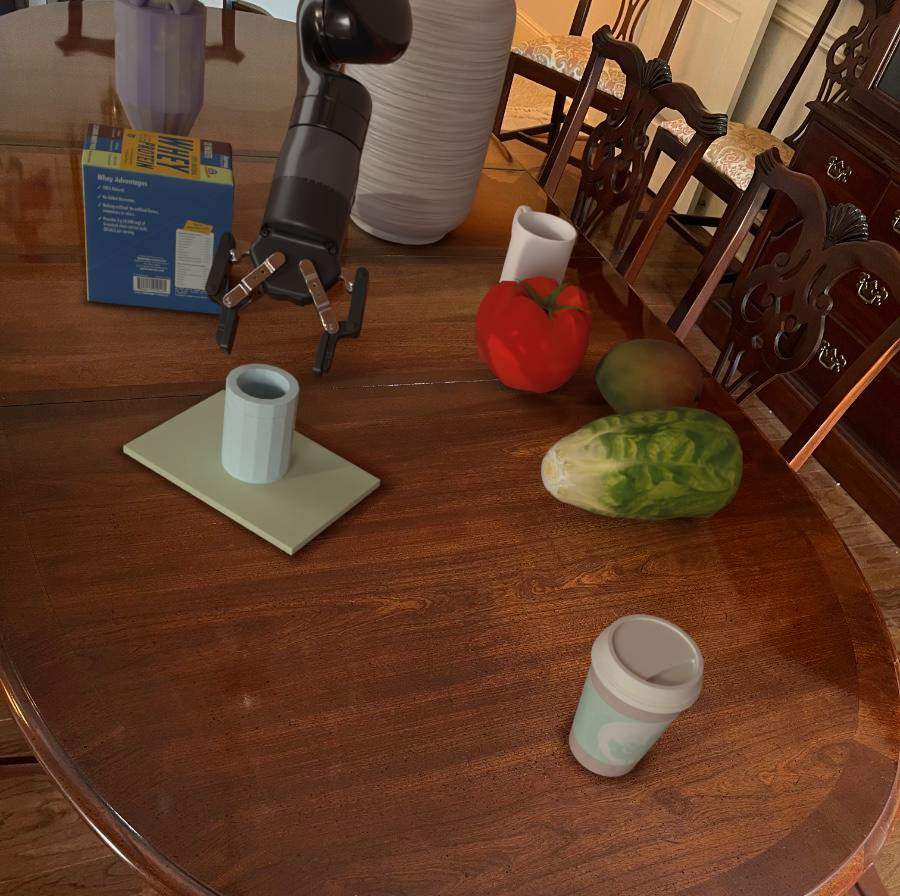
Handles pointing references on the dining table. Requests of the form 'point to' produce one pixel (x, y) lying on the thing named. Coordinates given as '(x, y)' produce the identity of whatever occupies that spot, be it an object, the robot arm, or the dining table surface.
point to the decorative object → (160, 63)
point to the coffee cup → (633, 691)
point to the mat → (253, 505)
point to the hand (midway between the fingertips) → (271, 364)
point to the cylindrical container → (259, 423)
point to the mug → (538, 246)
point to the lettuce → (647, 465)
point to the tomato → (533, 332)
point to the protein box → (154, 216)
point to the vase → (432, 119)
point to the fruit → (648, 376)
